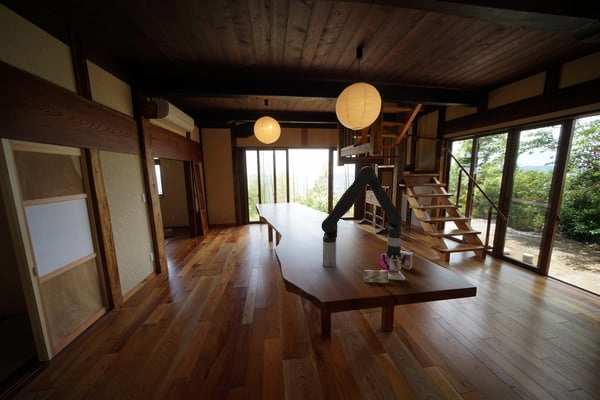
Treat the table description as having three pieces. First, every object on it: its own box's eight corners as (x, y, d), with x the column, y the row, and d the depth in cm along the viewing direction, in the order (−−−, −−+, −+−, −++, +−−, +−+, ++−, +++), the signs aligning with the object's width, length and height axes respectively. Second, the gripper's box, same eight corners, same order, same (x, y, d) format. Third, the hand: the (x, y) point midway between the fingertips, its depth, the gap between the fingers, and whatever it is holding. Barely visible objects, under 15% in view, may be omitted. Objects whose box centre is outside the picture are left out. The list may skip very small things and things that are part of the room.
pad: (385, 279, 125) (385, 277, 125) (380, 270, 136) (380, 269, 136) (405, 280, 124) (406, 278, 124) (399, 271, 135) (399, 270, 135)
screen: (364, 281, 123) (364, 272, 122) (363, 279, 125) (363, 269, 125) (389, 282, 121) (389, 273, 120) (387, 280, 124) (387, 270, 123)
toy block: (398, 272, 132) (398, 260, 132) (388, 272, 132) (388, 260, 132) (389, 263, 147) (389, 253, 146) (380, 263, 147) (380, 253, 147)
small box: (397, 266, 142) (397, 252, 141) (399, 264, 146) (400, 249, 145) (409, 270, 137) (410, 254, 136) (412, 267, 141) (413, 252, 140)
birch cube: (388, 270, 129) (391, 268, 124) (387, 261, 132) (390, 259, 127) (398, 270, 128) (401, 268, 123) (396, 261, 131) (399, 259, 126)
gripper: (383, 245, 125) (382, 272, 127) (408, 246, 123) (407, 273, 125) (380, 241, 132) (379, 267, 134) (403, 242, 130) (402, 267, 132)
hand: (393, 269), depth 129 cm, fingers closed on birch cube, 5 cm apart
